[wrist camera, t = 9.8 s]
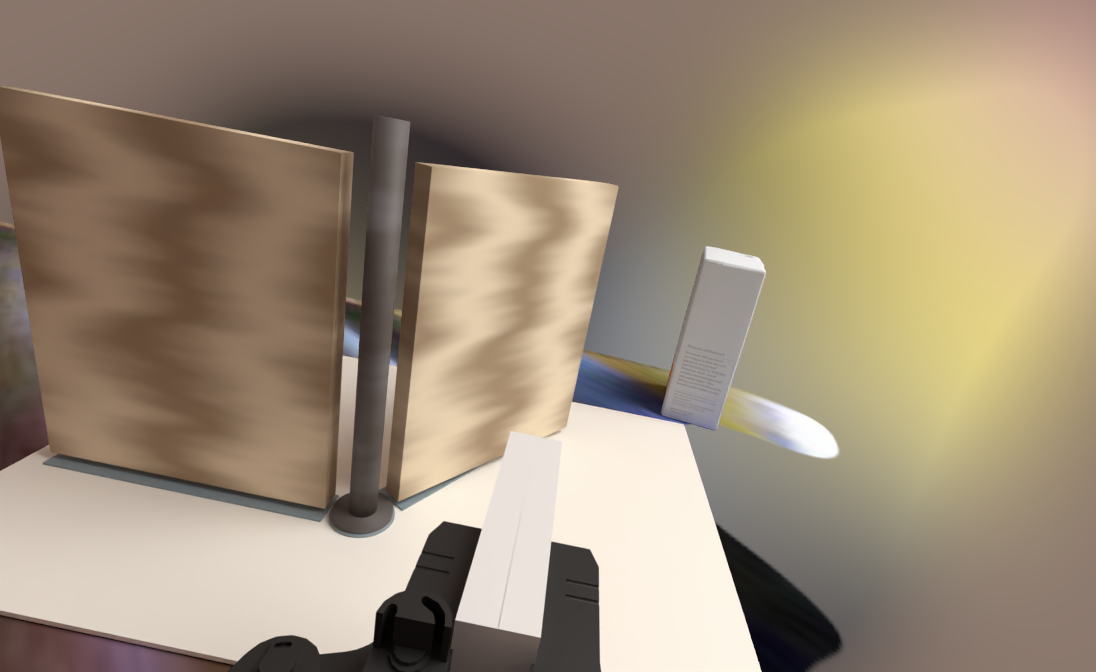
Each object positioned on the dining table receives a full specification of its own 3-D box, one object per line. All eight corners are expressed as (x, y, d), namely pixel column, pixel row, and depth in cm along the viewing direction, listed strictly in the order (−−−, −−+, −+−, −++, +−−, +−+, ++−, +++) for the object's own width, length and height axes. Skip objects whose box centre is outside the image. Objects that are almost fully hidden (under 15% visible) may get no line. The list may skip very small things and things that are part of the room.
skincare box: (664, 385, 45) (704, 244, 41) (716, 400, 44) (762, 257, 40) (658, 416, 39) (703, 256, 35) (717, 433, 39) (770, 271, 35)
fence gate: (398, 501, 25) (432, 166, 20) (385, 490, 26) (415, 162, 20) (566, 426, 34) (618, 186, 29) (554, 419, 35) (603, 182, 30)
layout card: (-182, 575, 18) (-185, 568, 17) (248, 339, 39) (248, 335, 39) (793, 784, 17) (796, 778, 17) (683, 426, 39) (684, 423, 38)
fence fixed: (34, 473, 23) (-42, 36, 18) (87, 442, 26) (36, 49, 20) (379, 545, 23) (417, 124, 17) (400, 507, 26) (439, 126, 20)
